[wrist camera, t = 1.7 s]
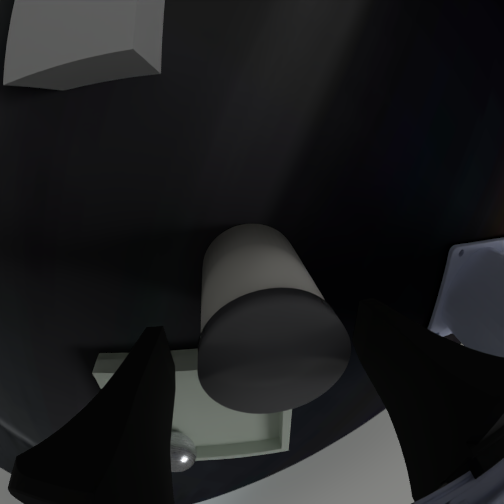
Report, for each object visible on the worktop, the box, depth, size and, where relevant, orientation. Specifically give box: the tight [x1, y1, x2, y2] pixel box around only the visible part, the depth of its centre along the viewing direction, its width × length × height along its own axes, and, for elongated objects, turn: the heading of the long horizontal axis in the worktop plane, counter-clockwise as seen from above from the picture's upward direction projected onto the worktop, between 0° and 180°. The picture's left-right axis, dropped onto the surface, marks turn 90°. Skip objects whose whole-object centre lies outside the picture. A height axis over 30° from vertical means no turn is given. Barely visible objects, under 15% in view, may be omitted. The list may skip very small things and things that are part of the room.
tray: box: [92, 348, 292, 461], centre depth 19 cm, size 12×12×2 cm
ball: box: [170, 431, 197, 472], centre depth 18 cm, size 4×4×4 cm
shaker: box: [197, 224, 351, 414], centre depth 12 cm, size 5×5×7 cm
